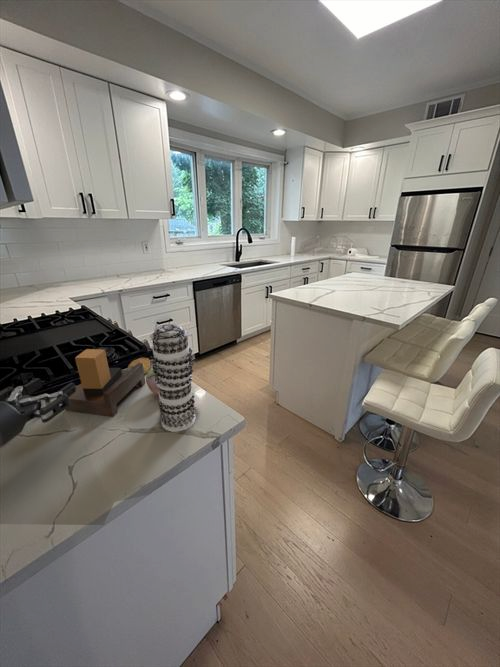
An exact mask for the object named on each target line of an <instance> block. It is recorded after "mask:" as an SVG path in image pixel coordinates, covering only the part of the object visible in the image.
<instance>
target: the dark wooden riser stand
mask: <svg viewBox="0 0 500 667" xmlns="http://www.w3.org/2000/svg"><path fill="white" fill-rule="evenodd" d="M121 371H122V374H121V376H120V377H119V378H118V379H117V380H116V381H115V382H114V383H113V385H112V386H111V387H110V388H109V389H108V390H107V391H105V392H104V393H103V394H104V395H84V391H83V387H82V383H81V382H80V383H79V384H78V385H77V386H76V392H75V393H74V394H72V395H71V396H70V397H68V398H69V402H70V406H69V407H67V408H66V409H65V410H64V411H68V412H74V413H82V414H90V415H97V416H104V417H111V418H114V416H116V415H117V414H118V413H119V410H118V406H117V405H118V403H119V402H120V401H122V399H123V398H125V396H126V395H127V394H128V393H129V392H130V391H131V390H132V389H133V388H134V387H140V388H141V387H142V388H143V387H144V386H145V385H146V375H145V374H144V370H143V364H142V363H138V364H137V365H135V366H134V367H133V368H132V369H131V370H130V371H129V370H128V369H121Z"/></svg>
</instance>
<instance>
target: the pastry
mask: <svg viewBox="0 0 500 667" xmlns="http://www.w3.org/2000/svg"><path fill="white" fill-rule="evenodd" d="M138 363H142V364H143V370H144V375H147V373H148V372H149V371H150V370H151V360H150V358H148V357H139V358H136V359H134V360H132V361H131V362H130V363H129V364H128V366H127V370H129V371H130V370H131V369H132V368H133V367H134V366H135V365H137V364H138Z"/></svg>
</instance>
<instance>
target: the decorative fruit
mask: <svg viewBox="0 0 500 667" xmlns="http://www.w3.org/2000/svg"><path fill="white" fill-rule="evenodd" d="M153 370H154V369H153V368H152V367H151V368H150V370H149V371H148V372H147V373H146V375H145V384H146V385H147V387H148V389H149V390H150V391H151V392H152V394H155V395H158V396H159V387H157V384H156V381H155V378H156V377H154V374H155V373H154V372H153Z"/></svg>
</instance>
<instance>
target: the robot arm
mask: <svg viewBox="0 0 500 667" xmlns="http://www.w3.org/2000/svg"><path fill="white" fill-rule="evenodd" d="M43 386H44V385H43V381H42V379H41V378H38V377H37V378H35V379H33V380H31V381H29V382H28V383H26V384H24V385H19V386H16V387H15V388H14V387H13V386H7V387H5V388H4V389H2V390H0V448H2V447H3V446H5V445H6V444H7V443H9V442H10V441H11V440H13V439H14V438H15V437H16V436H18V435H20V434H21V433H22V431H23V430H24V429H25V426H26V424H27V423H28V422H30V421H33V420H34V419H36V418H37V419H41V423H48V422H49V421H51V420H53V419H54V418H55V417H56V416H59V414H61V413H62V412H64V411H66V410H65V409H66V408H67V407H69V406H70V402H69V398H68V397H70V396H71V395H72V394H74V393H75V392H76V387H77V386H76V383H74V382H70V383H68V384H67V385H65V386H64V387H62V388H61V389H59V390H58V391H57V392H52V393H43V394H39V395H36V396H35V395H33V396H32V394H33V393H35V392H36V391H38V390H40V389H41V388H42V387H43ZM5 396H6V397H5ZM53 399H54V400H53ZM51 400H52V401H51ZM42 401H44V403H45V405H42Z"/></svg>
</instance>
